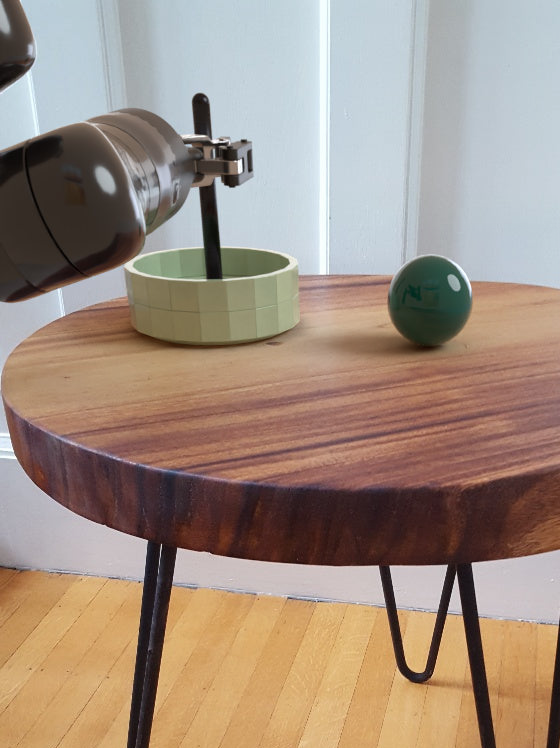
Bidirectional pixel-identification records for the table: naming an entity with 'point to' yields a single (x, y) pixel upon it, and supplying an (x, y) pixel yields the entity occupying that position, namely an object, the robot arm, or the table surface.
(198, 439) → the table surface
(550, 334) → the table surface
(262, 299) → the bowl
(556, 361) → the table surface
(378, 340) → the table surface
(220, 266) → the joystick
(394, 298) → the sphere
